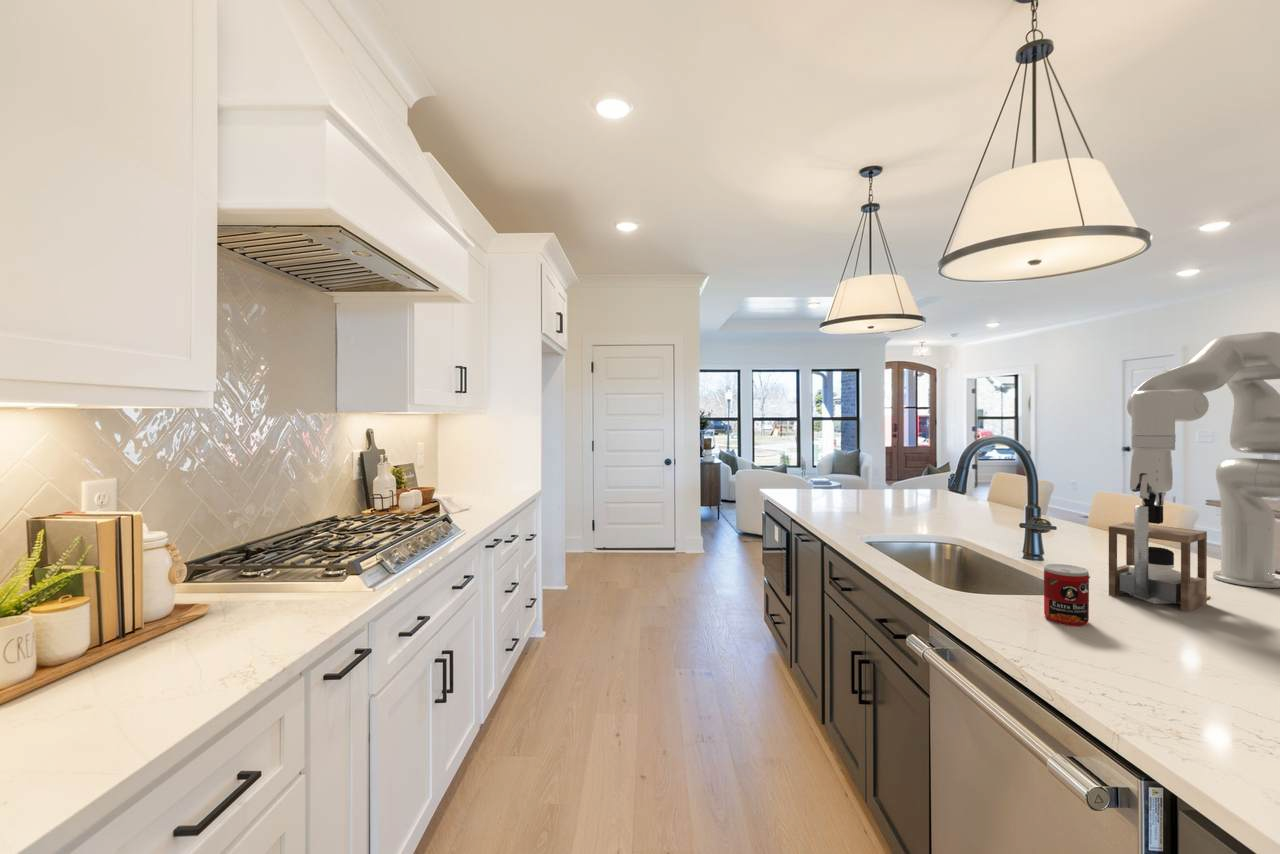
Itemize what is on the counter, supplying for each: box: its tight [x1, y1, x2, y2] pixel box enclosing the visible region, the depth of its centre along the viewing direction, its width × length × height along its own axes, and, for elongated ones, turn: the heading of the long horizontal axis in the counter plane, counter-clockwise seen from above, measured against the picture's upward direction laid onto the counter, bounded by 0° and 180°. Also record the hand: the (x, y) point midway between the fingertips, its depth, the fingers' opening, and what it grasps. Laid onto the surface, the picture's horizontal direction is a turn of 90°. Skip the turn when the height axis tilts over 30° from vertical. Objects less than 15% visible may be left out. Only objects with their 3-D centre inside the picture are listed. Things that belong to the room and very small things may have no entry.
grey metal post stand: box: [1120, 504, 1195, 602], centre depth 133 cm, size 14×10×21 cm
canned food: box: [1043, 563, 1090, 627], centre depth 122 cm, size 8×8×11 cm
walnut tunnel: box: [1108, 521, 1208, 613], centre depth 134 cm, size 11×14×16 cm
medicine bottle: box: [1128, 546, 1181, 605], centre depth 134 cm, size 7×7×12 cm
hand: (1152, 522), depth 133 cm, fingers closed
